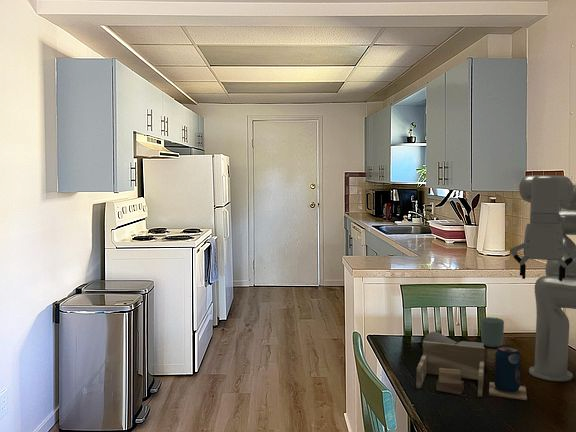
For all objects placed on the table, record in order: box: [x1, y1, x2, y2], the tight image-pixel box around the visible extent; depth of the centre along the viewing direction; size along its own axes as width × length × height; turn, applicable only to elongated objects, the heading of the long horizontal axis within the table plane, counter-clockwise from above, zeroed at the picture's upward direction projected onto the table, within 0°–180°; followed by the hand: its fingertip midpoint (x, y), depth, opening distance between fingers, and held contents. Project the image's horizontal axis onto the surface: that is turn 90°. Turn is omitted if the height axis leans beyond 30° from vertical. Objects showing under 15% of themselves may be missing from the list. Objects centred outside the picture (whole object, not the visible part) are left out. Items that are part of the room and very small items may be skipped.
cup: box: [480, 316, 505, 348], centre depth 217 cm, size 8×8×10 cm
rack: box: [415, 341, 486, 398], centre depth 175 cm, size 16×18×10 cm
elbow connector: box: [422, 331, 485, 347], centre depth 197 cm, size 18×11×20 cm
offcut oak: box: [438, 368, 462, 384], centre depth 170 cm, size 4×6×3 cm, turn 77°
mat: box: [488, 381, 528, 401], centre depth 169 cm, size 10×10×1 cm
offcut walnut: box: [435, 378, 465, 395], centre depth 170 cm, size 4×7×3 cm, turn 63°
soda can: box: [493, 345, 522, 393], centre depth 169 cm, size 7×7×12 cm
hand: (541, 279), depth 165 cm, fingers open, 9 cm apart
